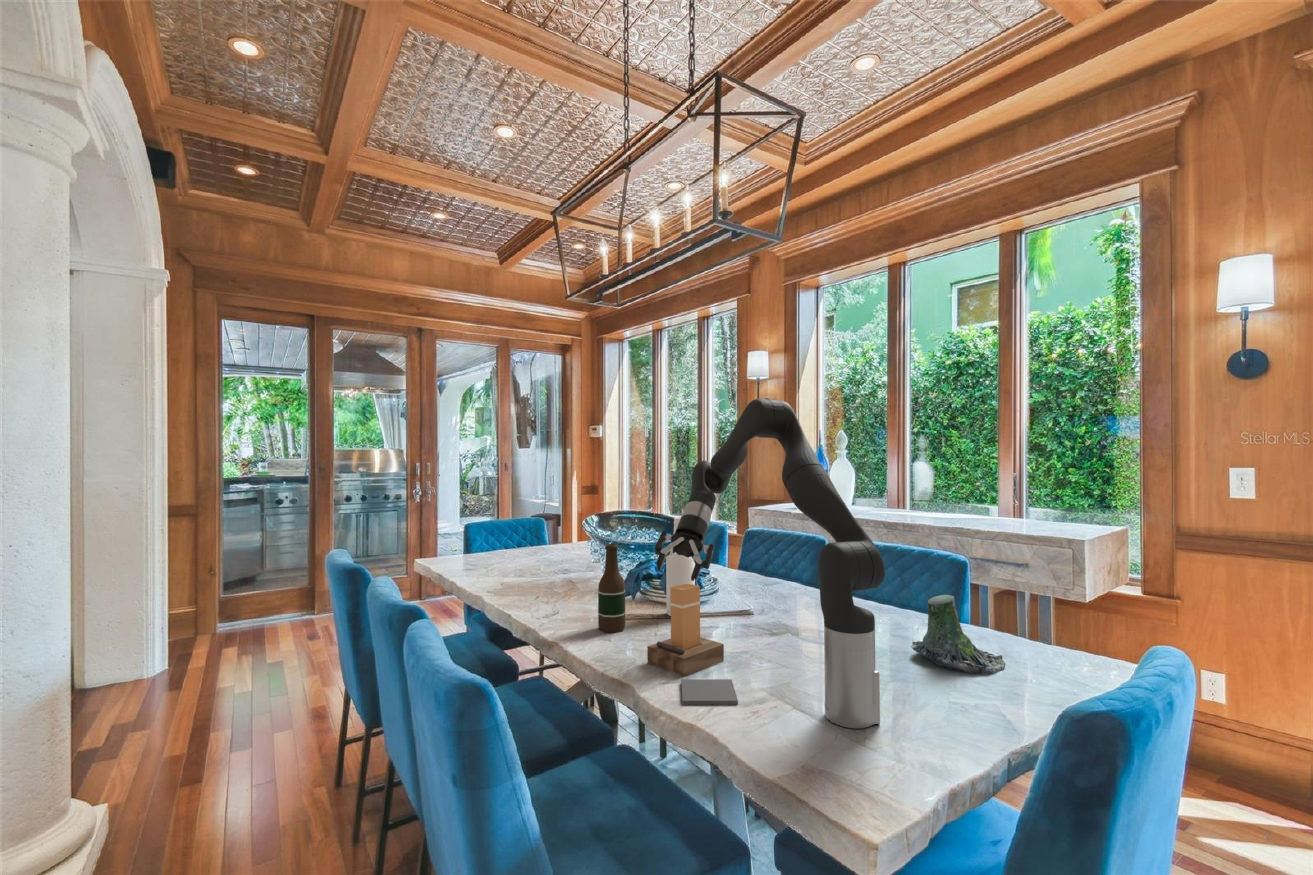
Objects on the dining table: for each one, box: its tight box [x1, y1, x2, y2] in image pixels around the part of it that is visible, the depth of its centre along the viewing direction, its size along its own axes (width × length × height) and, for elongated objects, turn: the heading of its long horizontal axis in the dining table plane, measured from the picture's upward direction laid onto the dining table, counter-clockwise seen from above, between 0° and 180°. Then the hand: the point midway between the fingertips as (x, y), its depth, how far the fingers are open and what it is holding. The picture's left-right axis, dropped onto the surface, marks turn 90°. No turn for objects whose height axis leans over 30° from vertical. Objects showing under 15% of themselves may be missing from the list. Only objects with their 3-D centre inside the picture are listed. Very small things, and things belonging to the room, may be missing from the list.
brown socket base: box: [646, 636, 725, 677], centre depth 143 cm, size 12×14×5 cm
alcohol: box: [665, 516, 696, 616], centre depth 184 cm, size 9×9×30 cm
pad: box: [680, 678, 739, 706], centre depth 125 cm, size 11×11×1 cm
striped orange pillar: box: [670, 583, 701, 650], centre depth 143 cm, size 4×6×18 cm
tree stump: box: [910, 594, 1006, 674], centre depth 143 cm, size 18×20×18 cm
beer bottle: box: [597, 543, 626, 634], centre depth 170 cm, size 8×8×24 cm
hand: (675, 574), depth 146 cm, fingers open, 8 cm apart
